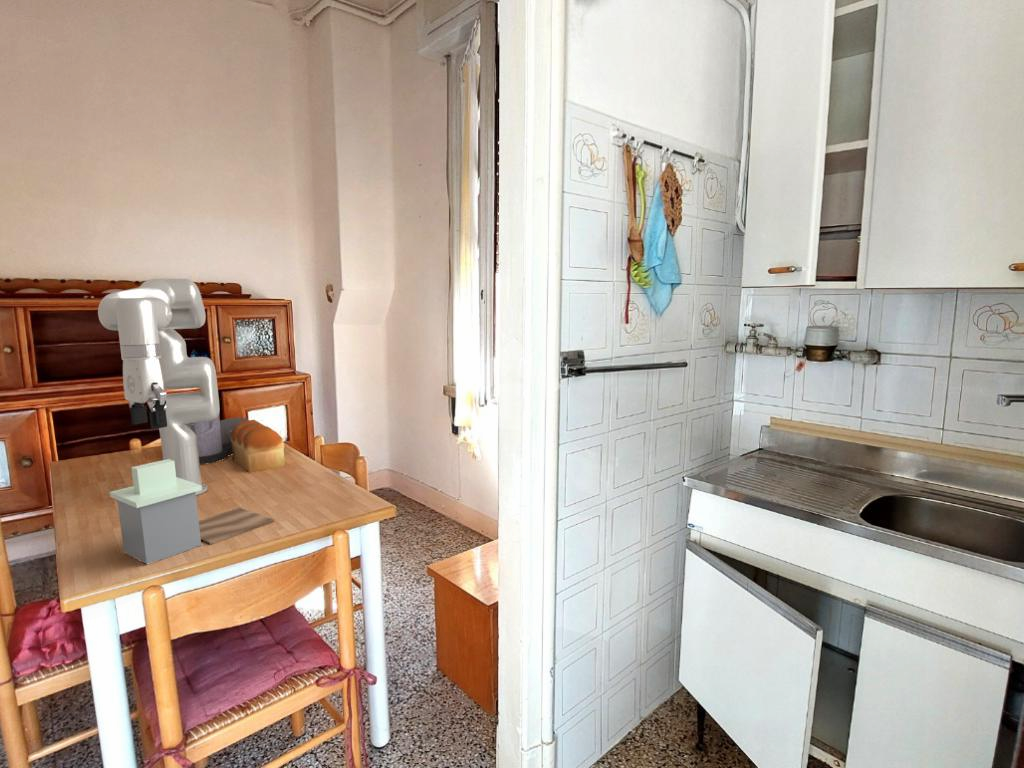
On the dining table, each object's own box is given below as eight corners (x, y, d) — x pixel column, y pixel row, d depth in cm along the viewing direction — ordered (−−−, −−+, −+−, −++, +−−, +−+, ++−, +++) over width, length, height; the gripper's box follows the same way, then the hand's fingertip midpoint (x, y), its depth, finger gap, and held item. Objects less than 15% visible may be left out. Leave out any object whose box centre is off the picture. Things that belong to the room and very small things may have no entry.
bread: (231, 459, 212) (228, 422, 210) (266, 453, 220) (262, 417, 218) (249, 473, 193) (245, 432, 191) (286, 466, 201) (283, 427, 199)
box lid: (110, 500, 129) (106, 467, 128) (174, 484, 141) (170, 453, 139) (137, 512, 121) (133, 476, 120) (202, 493, 133) (198, 460, 132)
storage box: (124, 552, 131) (116, 496, 129) (177, 535, 141) (171, 482, 139) (147, 565, 125) (139, 505, 123) (201, 545, 134) (195, 490, 132)
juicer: (196, 468, 201) (189, 402, 198) (167, 464, 207) (160, 400, 204) (262, 448, 228) (257, 390, 225) (234, 445, 235) (229, 388, 231)
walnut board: (176, 530, 144) (176, 527, 144) (239, 509, 158) (239, 507, 158) (210, 544, 135) (210, 542, 135) (274, 521, 149) (274, 519, 149)
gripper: (106, 352, 128) (115, 425, 130) (139, 355, 118) (148, 433, 121) (142, 350, 134) (150, 419, 136) (176, 352, 124) (184, 426, 127)
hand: (149, 425), depth 129 cm, fingers open, 9 cm apart
